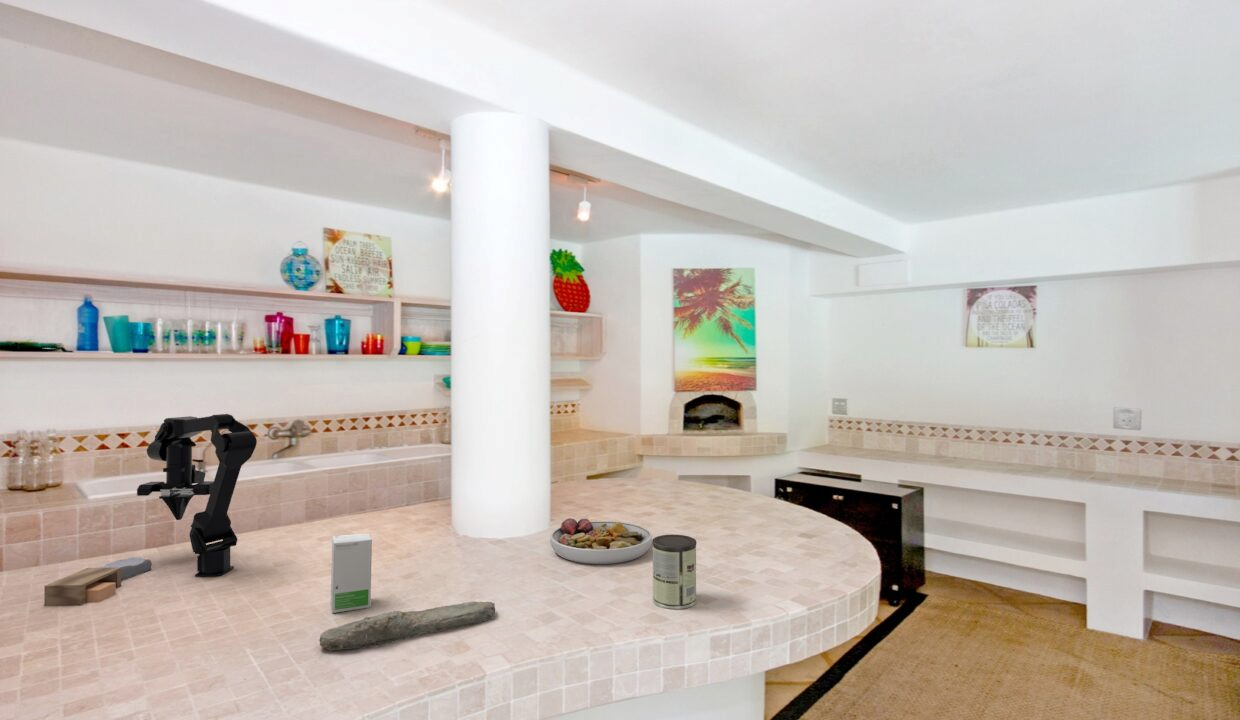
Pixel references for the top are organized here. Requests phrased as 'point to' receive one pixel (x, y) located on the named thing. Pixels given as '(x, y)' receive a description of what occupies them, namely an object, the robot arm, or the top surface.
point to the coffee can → (674, 571)
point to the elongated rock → (404, 625)
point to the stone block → (130, 566)
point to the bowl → (600, 541)
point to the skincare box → (351, 572)
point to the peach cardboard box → (99, 591)
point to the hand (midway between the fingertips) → (179, 519)
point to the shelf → (78, 585)
